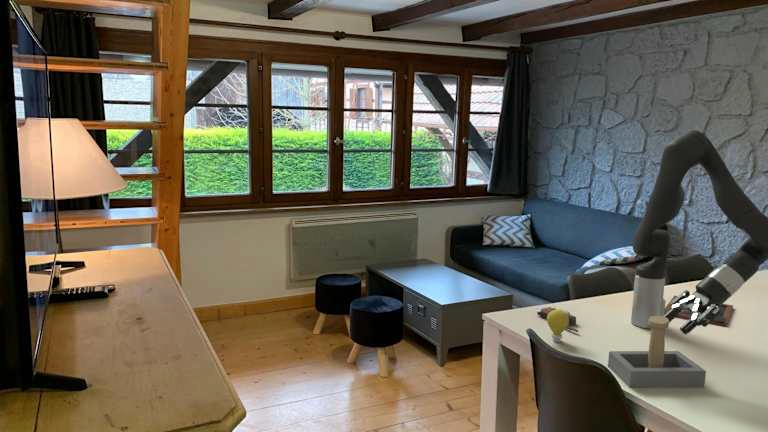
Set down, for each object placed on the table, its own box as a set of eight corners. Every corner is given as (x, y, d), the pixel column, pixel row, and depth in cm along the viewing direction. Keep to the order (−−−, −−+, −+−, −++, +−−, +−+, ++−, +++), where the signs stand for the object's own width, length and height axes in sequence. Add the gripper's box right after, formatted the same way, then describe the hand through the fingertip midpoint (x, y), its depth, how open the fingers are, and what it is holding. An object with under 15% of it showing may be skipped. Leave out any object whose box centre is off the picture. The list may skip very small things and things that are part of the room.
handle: (666, 370, 155) (670, 317, 152) (662, 378, 149) (666, 324, 147) (647, 366, 157) (651, 314, 155) (643, 374, 152) (646, 321, 150)
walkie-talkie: (532, 317, 200) (575, 336, 183) (532, 305, 200) (576, 323, 182) (550, 313, 204) (594, 331, 187) (551, 302, 204) (595, 319, 186)
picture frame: (725, 328, 193) (732, 309, 212) (726, 323, 192) (733, 304, 212) (661, 316, 204) (674, 299, 224) (662, 311, 204) (674, 294, 224)
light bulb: (542, 336, 181) (544, 306, 180) (562, 336, 182) (564, 306, 180) (550, 344, 175) (552, 313, 173) (571, 344, 175) (573, 313, 174)
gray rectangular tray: (676, 365, 160) (678, 351, 160) (704, 387, 147) (706, 370, 147) (607, 366, 159) (609, 351, 159) (629, 387, 147) (630, 371, 146)
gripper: (695, 268, 156) (651, 307, 158) (728, 282, 142) (679, 326, 144) (712, 286, 157) (668, 325, 159) (746, 303, 143) (697, 345, 145)
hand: (673, 326), depth 151 cm, fingers open, 8 cm apart
